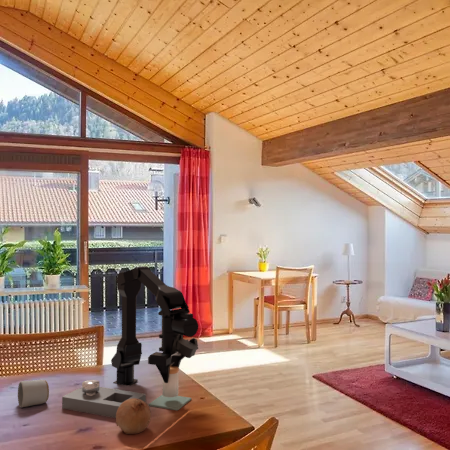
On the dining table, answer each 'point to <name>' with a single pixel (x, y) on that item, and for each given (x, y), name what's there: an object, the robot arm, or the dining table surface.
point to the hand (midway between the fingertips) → (170, 380)
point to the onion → (133, 416)
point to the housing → (99, 401)
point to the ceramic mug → (32, 392)
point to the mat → (170, 402)
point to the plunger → (90, 387)
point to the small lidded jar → (171, 383)
